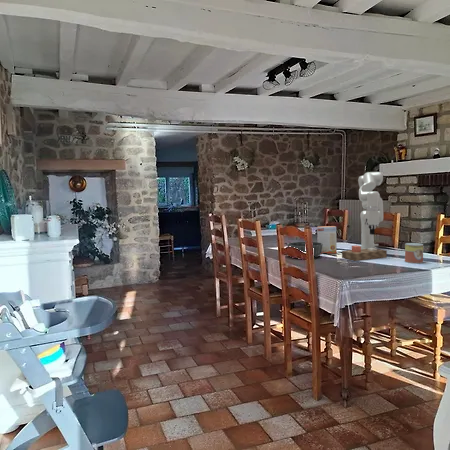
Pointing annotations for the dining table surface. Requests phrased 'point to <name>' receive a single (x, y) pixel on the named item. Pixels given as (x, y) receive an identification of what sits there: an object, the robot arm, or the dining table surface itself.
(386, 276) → the dining table surface
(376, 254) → the block
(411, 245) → the canned food
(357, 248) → the salmon pink cube
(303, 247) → the bundt pan
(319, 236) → the cracker box
